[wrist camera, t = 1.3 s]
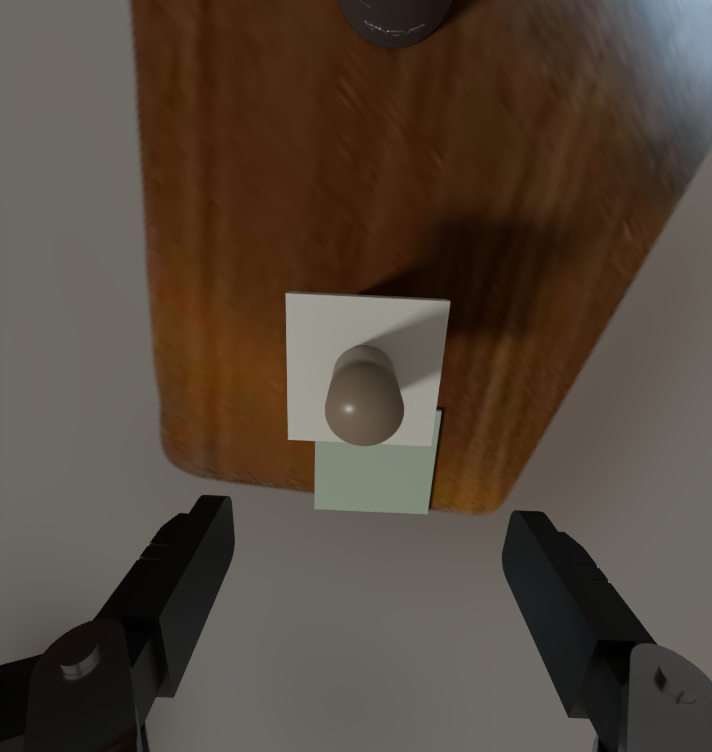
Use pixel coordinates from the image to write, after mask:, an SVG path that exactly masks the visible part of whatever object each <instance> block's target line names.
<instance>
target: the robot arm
mask: <svg viewBox="0 0 712 752" xmlns="http://www.w3.org/2000/svg"><path fill="white" fill-rule="evenodd" d="M452 2H453V0H339V4H340V7H341V9H342V11H343V13H344V14H345V16H346V18H347V20H348V22H349V23H350V24H351V25H352V27H353V28H354V29H355V30H356V32H358V33H359V34H360V35H361V36H363V37H364V38H365V39H366V40H368V41H370V42H372V43H374V44H376V45H378V46H382V47H388V48H401V47H406V46H409V45H412V44H415V43H417V42H419V41H421V40H422V39H424V38H425V37H427V36H428V35H429V34H430V33H431V32H432V31H433V30H434V29H435V28H436V27H437V26H438V25H439V24H440V23H441V21H442V20H443V18H444V17H445V15H446V14H447V13H448V11H449V8H450V6H451V4H452ZM234 537H235V536H234V523H233V511H232V501H231V498H230V497H229V496H215V495H202V496H201V497H200V498H199V499H198V500H197V502H196V504H195V505H194V507H193V508H192V509H191V511H190V512H189V514H186V513H179V514H178V515H177V516H175V517H174V518H172V519H171V520H170V521H168V522H167V523H166V524H164V525H163V526H162V527H161V528H160V530H159V531H158V532H157V534H156V535H155V536H154V538H153V539H152V541H151V542H150V545H149V546H147V547H146V549H145V550H144V551H143V553H142V554H141V556H140V559H139V560H137V561H136V562H135V564H134V565H133V567H132V568H131V569H130V571H129V572H128V573H127V575H126V576H125V577H124V579H123V580H122V582H121V583H120V584H119V586H118V587H117V588H116V590H115V591H114V593H113V594H112V595H111V596H110V598H109V599H108V601H107V602H106V603H105V605H104V606H103V607H102V609H101V610H100V612H99V613H98V614H97V616H96V617H95V618H94V619H93V620H92V621H88V622H86V623H83V624H81V625H79V626H76V627H75V628H73V629H71V630H69V631H68V632H66V633H65V634H63V635H62V636H61V637H59V638H58V639H57V640H56V641H55V642H53V643H52V644H51V645H50V646H49V647H48V649H46V650H45V652H44V653H43V654H40V655H37V656H34V657H30V658H26V659H22V660H18V661H15V662H11V663H7V664H3V665H0V752H150V748H149V741H148V734H147V727H146V721H145V720H146V717H147V715H148V713H149V711H150V709H151V707H152V704H153V702H154V700H155V698H156V697H169V698H173V697H174V696H175V693H176V691H177V689H178V686H179V684H180V682H181V679H182V677H183V674H184V672H185V670H186V667H187V665H188V663H189V660H190V658H191V656H192V653H193V651H194V648H195V646H196V644H197V641H198V639H199V637H200V634H201V632H202V629H203V627H204V625H205V622H206V620H207V618H208V615H209V612H210V610H211V608H212V606H213V603H214V601H215V599H216V596H217V594H218V592H219V589H220V587H221V584H222V582H223V580H224V577H225V575H226V573H227V570H228V568H229V566H230V563H231V560H232V557H233V551H234V545H235V538H234ZM502 565H503V571H504V574H505V577H506V579H507V582H508V584H509V586H510V588H511V591H512V593H513V595H514V597H515V599H516V602H517V604H518V606H519V608H520V611H521V613H522V615H523V617H524V619H525V622H526V624H527V626H528V628H529V631H530V633H531V635H532V637H533V640H534V642H535V644H536V646H537V648H538V651H539V652H540V655H541V657H542V659H543V662H544V664H545V666H546V668H547V671H548V673H549V675H550V677H551V680H552V682H553V684H554V686H555V689H556V691H557V693H558V695H559V697H560V700H561V702H562V704H563V706H564V709H565V711H566V713H567V715H568V717H569V718H586V719H590V721H591V723H592V725H593V727H594V729H595V731H596V735H595V738H594V741H593V748H592V752H712V681H711V680H710V679H709V678H708V677H707V676H706V675H705V674H704V673H703V672H702V671H701V670H700V669H699V668H698V667H696V666H695V665H694V664H692V663H691V662H690V661H688V660H687V659H686V658H684V657H683V656H681V655H679V654H677V653H676V652H674V651H672V650H670V649H667V648H665V647H662V646H659V645H657V643H656V642H655V641H654V640H653V638H652V637H651V636H650V634H649V633H648V632H647V631H646V629H645V628H644V626H643V625H642V624H641V623H640V621H639V620H638V619H637V617H636V616H635V615H634V613H633V612H632V611H631V609H630V608H629V607H628V605H627V604H626V603H625V602H624V600H623V599H622V598H621V596H620V595H619V594H618V592H617V591H616V590H615V588H614V587H613V586H612V584H611V583H608V579H607V578H606V577H605V575H604V574H603V573H602V571H601V570H600V569H599V568H597V566H596V563H595V562H594V561H593V559H592V558H591V557H590V556H589V554H588V553H587V551H586V550H585V549H584V548H583V547H582V546H581V545H580V544H578V543H577V542H576V541H575V540H574V539H572V538H571V537H570V536H569V535H567V534H566V533H565V532H558V531H557V529H556V528H555V527H554V525H553V524H552V522H551V521H550V520H549V518H548V517H547V516H546V514H545V513H543V512H539V511H518V510H515V511H513V512H512V514H511V517H510V521H509V525H508V529H507V534H506V538H505V543H504V547H503V552H502Z"/></svg>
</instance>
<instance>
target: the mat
mask: <svg viewBox="0 0 712 752" xmlns="http://www.w3.org/2000/svg"><path fill="white" fill-rule="evenodd" d="M441 412H442V411H441V409H436V415H435V422H434V430H433V437H432V445H431V446H410V445H390V444H376V445H372V446H357V445H352V444H349V443H347V442H328V441H315V509H326V510H346V511H368V512H389V513H411V514H428V507H429V500H430V492H431V485H432V478H433V470H434V463H435V456H436V449H437V441H438V434H439V427H440V419H441Z"/></svg>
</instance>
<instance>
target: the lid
mask: <svg viewBox="0 0 712 752" xmlns="http://www.w3.org/2000/svg"><path fill="white" fill-rule="evenodd" d="M449 309H450V301H449V300H447V299H435V298H415V297H395V296H375V295H354V294H334V293H314V292H294V291H289V292H287V293H286V340H287V401H288V440H308V441H328V442H347V443H349V444H352V445H357V446H372V445H376V444H390V445H410V446H431V445H432V437H433V430H434V422H435V415H436V407H437V400H438V392H439V384H440V377H441V369H442V362H443V354H444V346H445V339H446V331H447V324H448V316H449Z"/></svg>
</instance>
